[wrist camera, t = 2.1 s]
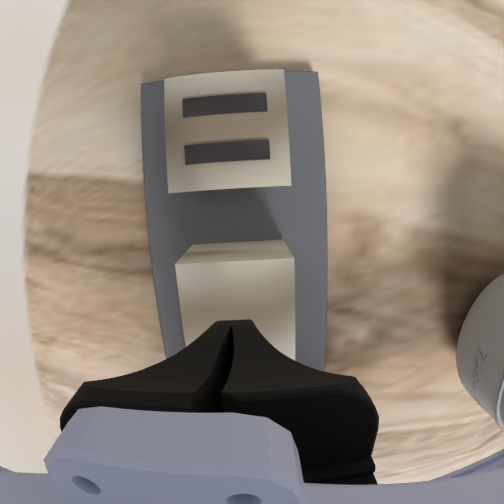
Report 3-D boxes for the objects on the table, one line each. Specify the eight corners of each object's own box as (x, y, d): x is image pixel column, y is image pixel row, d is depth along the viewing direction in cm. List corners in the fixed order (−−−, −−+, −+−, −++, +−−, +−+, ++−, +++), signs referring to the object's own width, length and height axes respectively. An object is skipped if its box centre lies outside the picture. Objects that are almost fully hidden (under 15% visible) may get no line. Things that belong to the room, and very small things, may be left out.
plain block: (285, 323, 19) (295, 361, 15) (201, 327, 19) (188, 366, 15) (283, 239, 18) (294, 257, 14) (192, 244, 18) (175, 264, 14)
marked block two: (280, 185, 17) (291, 185, 13) (187, 190, 17) (167, 193, 13) (275, 96, 16) (284, 68, 12) (183, 102, 16) (163, 77, 12)
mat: (317, 426, 22) (319, 433, 21) (185, 432, 22) (184, 438, 21) (315, 76, 17) (317, 71, 16) (145, 87, 17) (141, 84, 16)
